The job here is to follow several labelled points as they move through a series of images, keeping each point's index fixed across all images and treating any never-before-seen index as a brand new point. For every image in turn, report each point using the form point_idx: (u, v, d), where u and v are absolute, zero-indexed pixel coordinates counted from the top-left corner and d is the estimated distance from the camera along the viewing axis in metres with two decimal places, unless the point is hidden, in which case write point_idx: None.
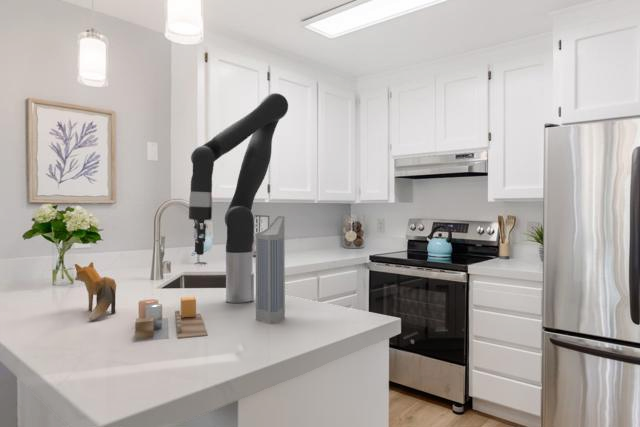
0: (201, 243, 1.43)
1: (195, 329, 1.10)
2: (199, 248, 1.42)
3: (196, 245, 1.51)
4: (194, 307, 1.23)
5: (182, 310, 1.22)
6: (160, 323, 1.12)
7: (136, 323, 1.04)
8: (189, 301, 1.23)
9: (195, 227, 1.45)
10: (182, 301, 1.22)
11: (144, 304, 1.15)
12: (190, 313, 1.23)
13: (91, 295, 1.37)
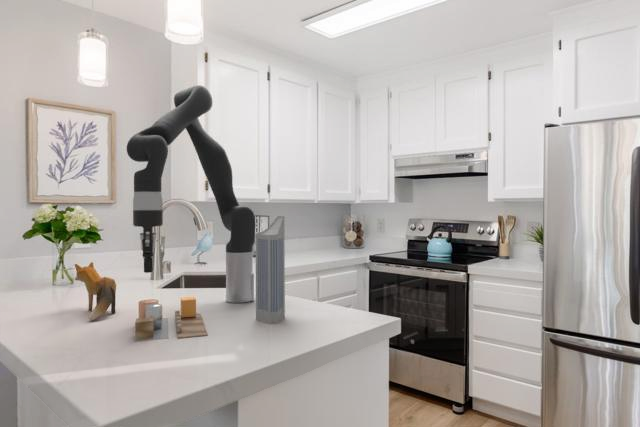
0: (149, 259, 1.17)
1: (195, 329, 1.10)
2: (146, 265, 1.17)
3: None
4: (194, 307, 1.23)
5: (182, 310, 1.22)
6: (160, 323, 1.12)
7: (136, 323, 1.04)
8: (189, 301, 1.23)
9: (141, 238, 1.16)
10: (182, 301, 1.22)
11: (144, 304, 1.15)
12: (190, 313, 1.23)
13: (91, 295, 1.37)
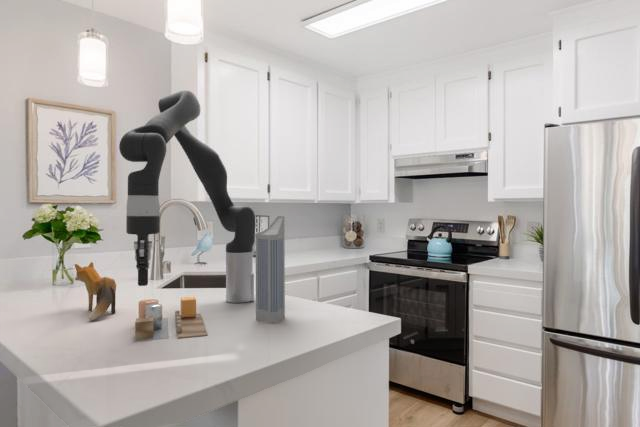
0: (143, 270, 1.05)
1: (195, 329, 1.10)
2: (141, 277, 1.05)
3: None
4: (194, 307, 1.23)
5: (182, 310, 1.22)
6: (160, 323, 1.12)
7: (136, 323, 1.04)
8: (189, 301, 1.23)
9: (135, 247, 1.04)
10: (182, 301, 1.22)
11: (144, 304, 1.15)
12: (190, 313, 1.23)
13: (91, 295, 1.37)
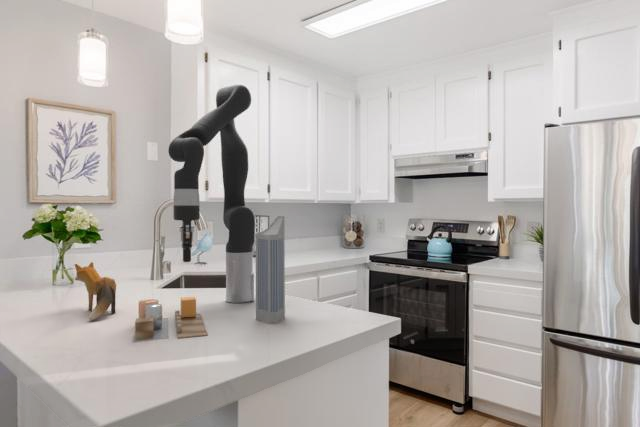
0: (188, 249, 1.30)
1: (195, 329, 1.10)
2: (186, 255, 1.30)
3: None
4: (194, 307, 1.23)
5: (182, 310, 1.22)
6: (160, 323, 1.12)
7: (136, 323, 1.04)
8: (189, 301, 1.23)
9: (181, 230, 1.29)
10: (182, 301, 1.22)
11: (144, 304, 1.15)
12: (190, 313, 1.23)
13: (91, 295, 1.37)
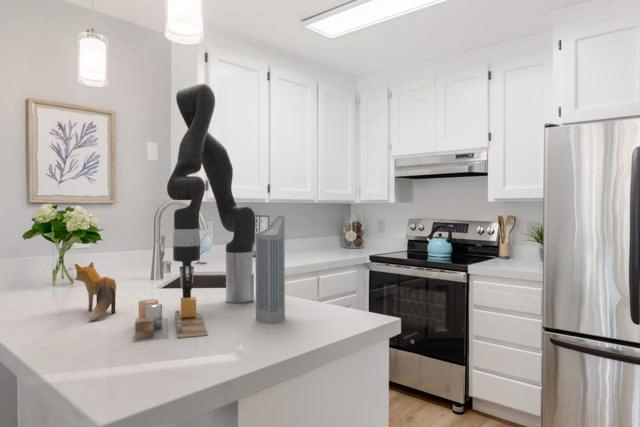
0: (187, 291, 1.26)
1: (195, 329, 1.10)
2: (185, 297, 1.26)
3: None
4: (194, 307, 1.23)
5: (182, 310, 1.22)
6: (160, 323, 1.12)
7: (136, 323, 1.04)
8: (189, 301, 1.22)
9: (181, 272, 1.25)
10: (182, 301, 1.22)
11: (144, 304, 1.15)
12: (190, 313, 1.22)
13: (91, 295, 1.37)
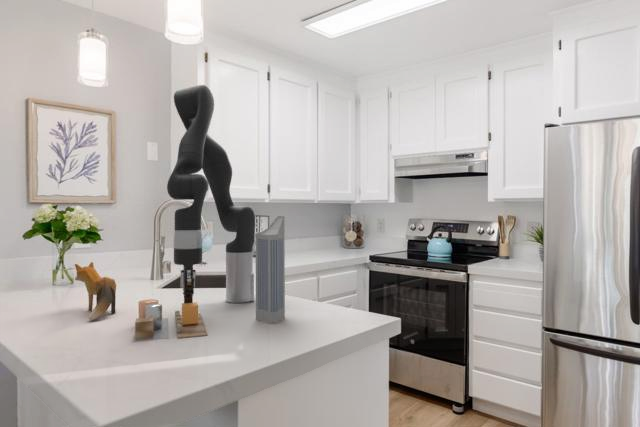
0: (189, 296, 1.19)
1: (195, 329, 1.10)
2: (187, 302, 1.19)
3: None
4: (196, 313, 1.15)
5: (183, 317, 1.14)
6: (160, 323, 1.12)
7: (136, 323, 1.04)
8: (191, 307, 1.15)
9: (182, 276, 1.18)
10: (183, 307, 1.14)
11: (144, 304, 1.15)
12: (192, 320, 1.15)
13: (91, 295, 1.37)
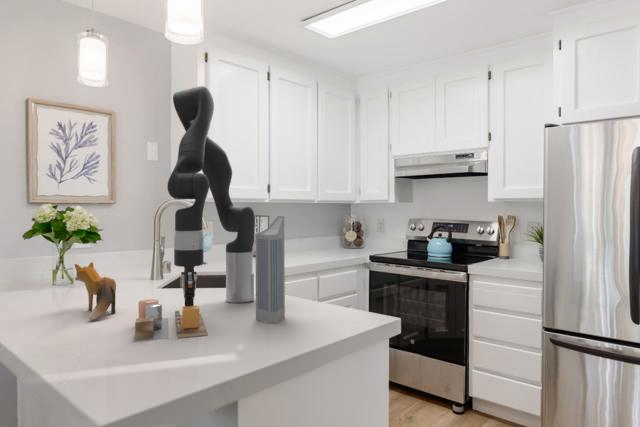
0: (190, 299, 1.15)
1: (195, 329, 1.10)
2: (188, 305, 1.15)
3: None
4: (197, 317, 1.11)
5: (184, 320, 1.10)
6: (160, 323, 1.12)
7: (136, 323, 1.04)
8: (192, 310, 1.11)
9: (183, 278, 1.14)
10: (184, 310, 1.10)
11: (144, 304, 1.15)
12: (193, 324, 1.11)
13: (91, 295, 1.37)
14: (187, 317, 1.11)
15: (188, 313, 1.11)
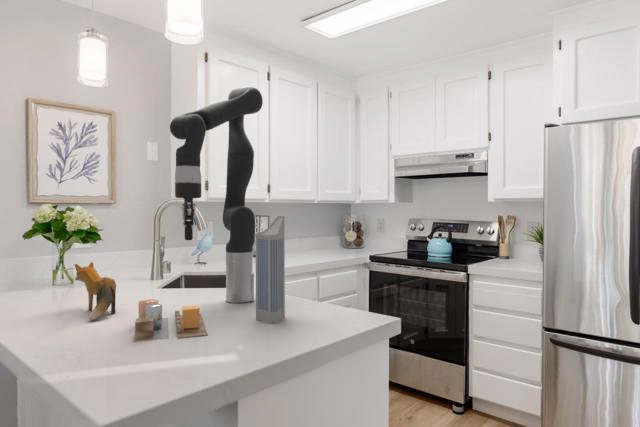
0: (189, 227, 1.29)
1: (195, 329, 1.10)
2: (187, 233, 1.29)
3: None
4: (197, 317, 1.11)
5: (184, 320, 1.10)
6: (160, 323, 1.12)
7: (136, 323, 1.04)
8: (192, 310, 1.11)
9: (183, 208, 1.28)
10: (184, 311, 1.10)
11: (144, 304, 1.15)
12: (193, 324, 1.11)
13: (91, 295, 1.37)
14: (187, 317, 1.11)
15: (188, 313, 1.11)
